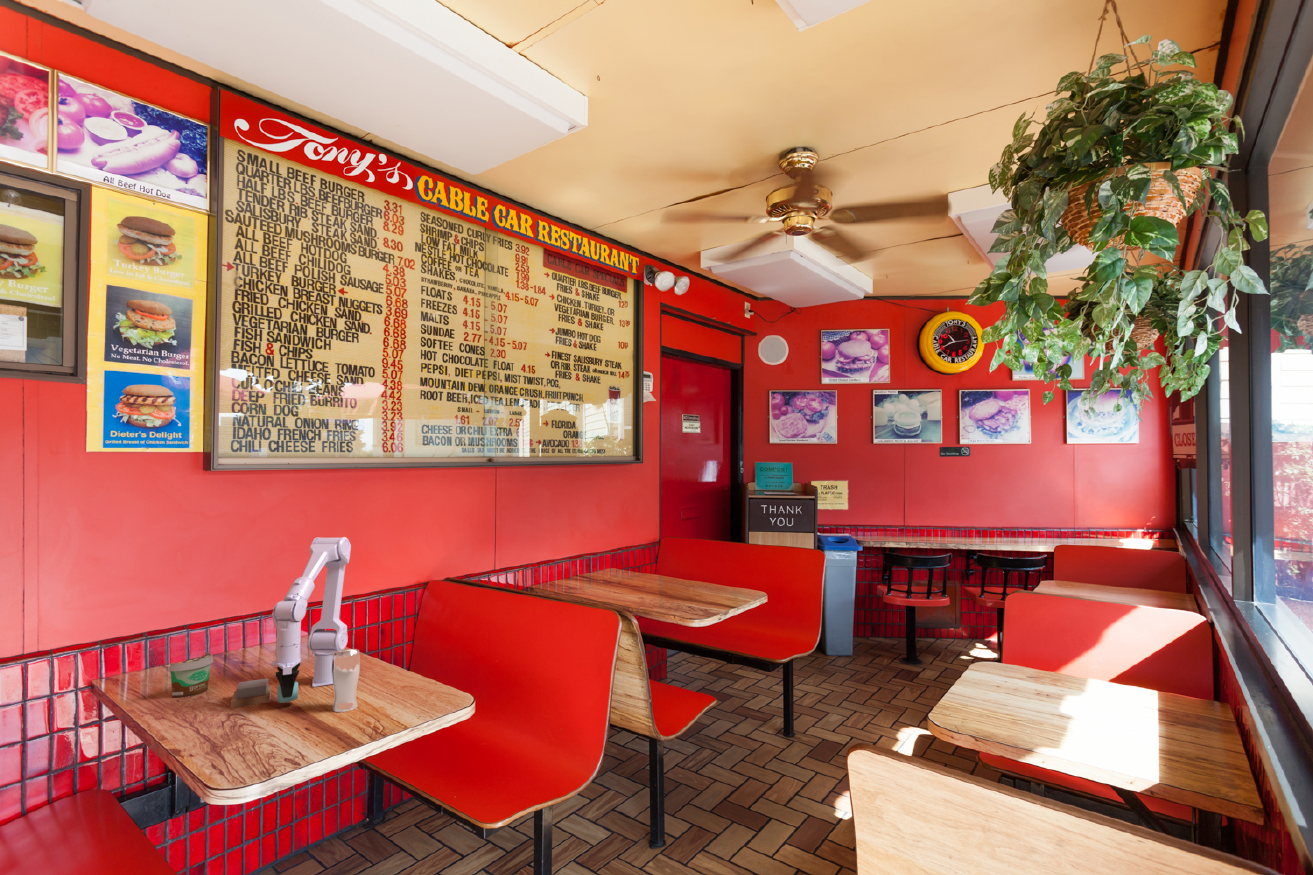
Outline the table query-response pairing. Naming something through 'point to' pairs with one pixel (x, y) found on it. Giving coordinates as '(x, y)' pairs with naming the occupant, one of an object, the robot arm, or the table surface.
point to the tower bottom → (251, 699)
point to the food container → (190, 676)
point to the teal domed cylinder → (288, 699)
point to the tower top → (252, 688)
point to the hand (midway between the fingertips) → (287, 693)
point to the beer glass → (345, 679)
